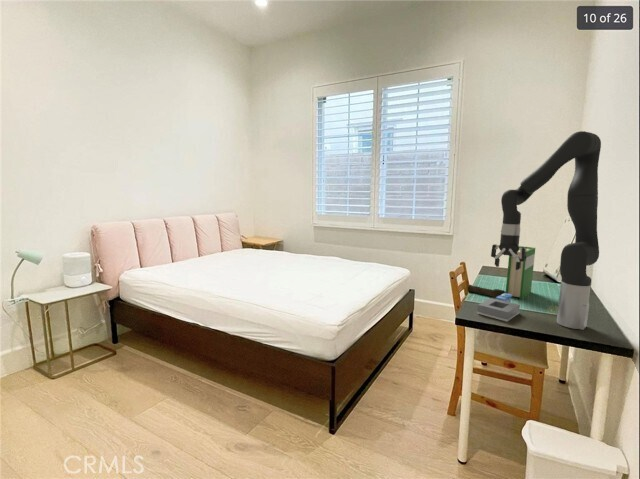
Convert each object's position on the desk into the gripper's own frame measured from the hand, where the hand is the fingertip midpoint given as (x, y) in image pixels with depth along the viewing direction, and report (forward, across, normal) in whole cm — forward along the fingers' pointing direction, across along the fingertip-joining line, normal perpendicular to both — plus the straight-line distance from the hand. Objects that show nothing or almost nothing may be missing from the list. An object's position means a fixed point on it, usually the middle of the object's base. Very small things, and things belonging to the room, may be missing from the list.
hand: (507, 268), depth 154 cm
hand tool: (+18, +11, -9) cm, 23 cm away
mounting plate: (+18, -3, +15) cm, 23 cm away
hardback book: (+18, +1, -23) cm, 29 cm away
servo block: (+18, 0, 0) cm, 18 cm away
